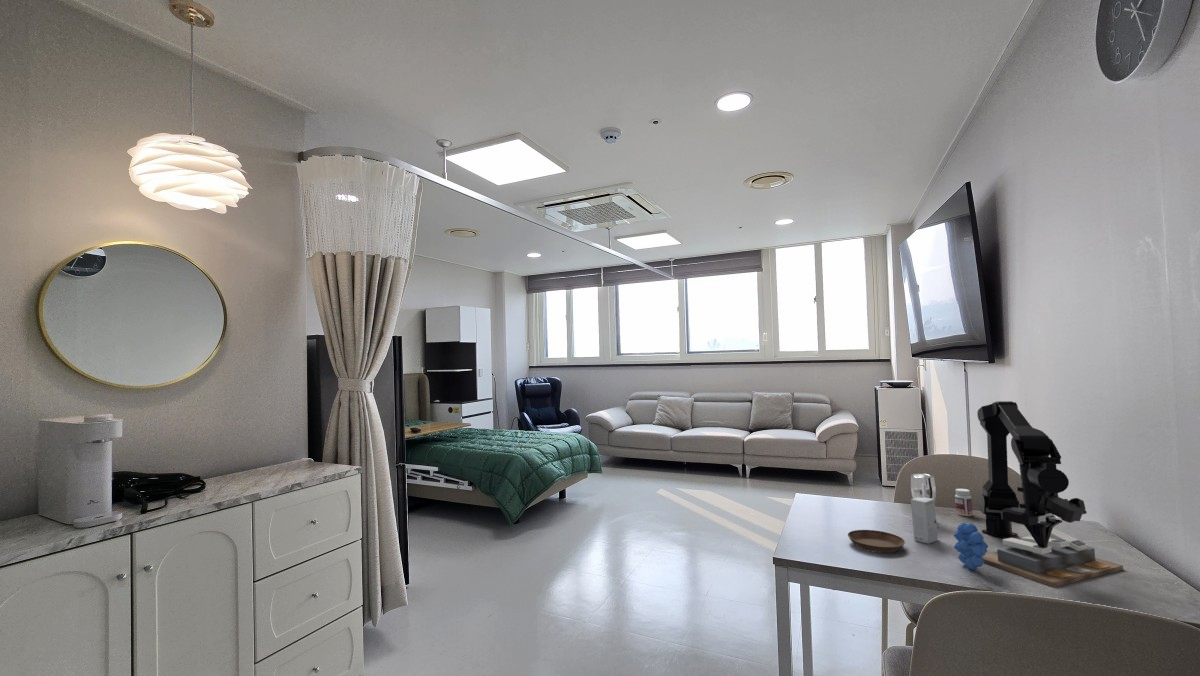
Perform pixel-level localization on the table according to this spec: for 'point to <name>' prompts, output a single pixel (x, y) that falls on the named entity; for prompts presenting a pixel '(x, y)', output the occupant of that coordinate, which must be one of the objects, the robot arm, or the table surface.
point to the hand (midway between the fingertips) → (1042, 548)
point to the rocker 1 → (1026, 545)
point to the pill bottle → (963, 502)
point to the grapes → (970, 545)
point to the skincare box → (924, 520)
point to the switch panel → (1051, 578)
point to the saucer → (876, 540)
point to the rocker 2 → (1073, 542)
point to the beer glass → (923, 486)
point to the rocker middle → (1050, 542)
